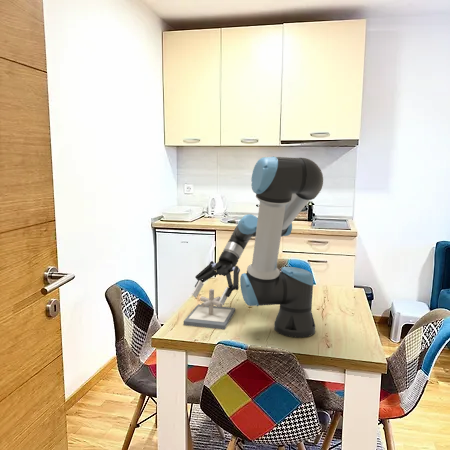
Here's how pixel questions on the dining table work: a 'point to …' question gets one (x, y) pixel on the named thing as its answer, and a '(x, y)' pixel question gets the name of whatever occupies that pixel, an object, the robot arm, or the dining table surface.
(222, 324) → the board
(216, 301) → the pipe connector
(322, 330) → the dining table surface
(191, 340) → the dining table surface
